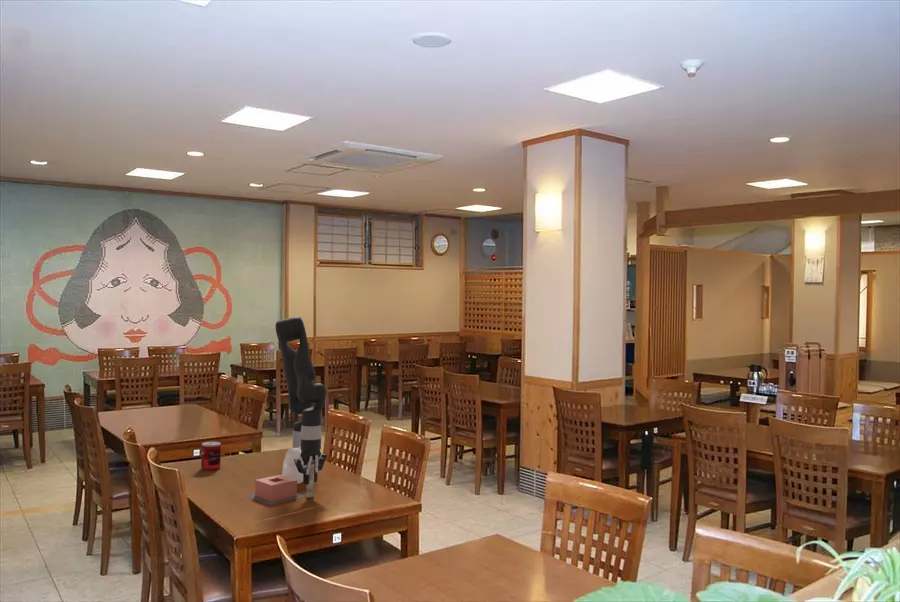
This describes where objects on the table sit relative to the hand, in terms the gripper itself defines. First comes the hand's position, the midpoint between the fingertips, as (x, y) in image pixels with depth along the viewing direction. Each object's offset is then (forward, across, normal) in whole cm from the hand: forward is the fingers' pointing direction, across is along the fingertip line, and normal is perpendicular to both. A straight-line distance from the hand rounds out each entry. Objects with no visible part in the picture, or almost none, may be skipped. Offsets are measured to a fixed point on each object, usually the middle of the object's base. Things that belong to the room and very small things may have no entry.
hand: (310, 483), depth 260 cm
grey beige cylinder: (+5, 0, 0) cm, 5 cm away
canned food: (+6, +4, -66) cm, 66 cm away
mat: (+6, +8, -10) cm, 14 cm away
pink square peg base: (+5, +8, -10) cm, 14 cm away
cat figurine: (+6, -8, -23) cm, 25 cm away
